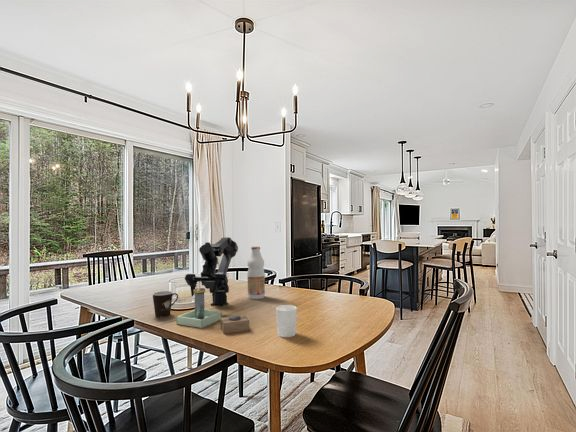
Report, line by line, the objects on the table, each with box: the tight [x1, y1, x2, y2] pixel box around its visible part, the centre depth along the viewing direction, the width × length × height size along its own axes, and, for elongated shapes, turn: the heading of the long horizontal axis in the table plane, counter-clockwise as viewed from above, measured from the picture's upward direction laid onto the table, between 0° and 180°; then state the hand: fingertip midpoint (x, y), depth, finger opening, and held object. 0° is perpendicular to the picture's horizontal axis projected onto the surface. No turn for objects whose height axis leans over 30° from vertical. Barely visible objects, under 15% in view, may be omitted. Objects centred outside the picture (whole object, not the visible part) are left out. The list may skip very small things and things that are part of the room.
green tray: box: [176, 308, 223, 329], centre depth 141 cm, size 13×13×3 cm
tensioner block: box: [220, 314, 250, 334], centre depth 131 cm, size 7×10×5 cm
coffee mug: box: [152, 290, 179, 318], centre depth 152 cm, size 12×9×10 cm
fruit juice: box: [247, 246, 266, 300], centre depth 183 cm, size 9×9×28 cm
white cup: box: [275, 304, 298, 338], centre depth 124 cm, size 8×8×10 cm
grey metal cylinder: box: [193, 287, 206, 320], centre depth 141 cm, size 5×5×13 cm
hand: (202, 296), depth 145 cm, fingers open, 9 cm apart
